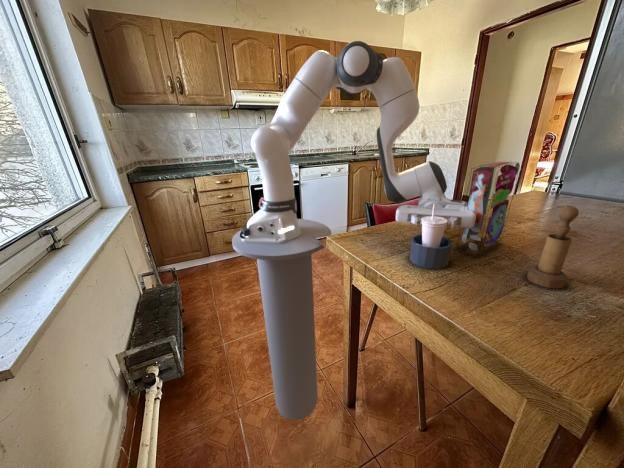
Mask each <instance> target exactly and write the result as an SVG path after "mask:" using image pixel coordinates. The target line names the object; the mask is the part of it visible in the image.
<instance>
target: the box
mask: <svg viewBox="0 0 624 468" xmlns="http://www.w3.org/2000/svg"><path fill="white" fill-rule="evenodd" d="M496 168H497V169H498V171H496V170H497V169H496ZM520 168H521V164H520V162H518V161H514V164H513V162H511V161H497V162H494V163H493V162H491V163H489V164H487V163H485V164H483V165H482V164H481V165H478V166H475V167H473V168H472V167H471V170H473V171H472V173H470V175H469V178H471V180H469V182H468V185H467V189H466V194H465V200H464V202H466V203H467V210H472V211H474V213H475V214H476V220H475V225H474V227H473V228H461V227H459V229H458V233H461V234H458V235H457V238H458V240H457V242H456V244H457V246H456V247H457V249H458V250H461V253H462V254H465V255H468V256H472V257H476V258H478V257H480V256H481V254H482V255H484V254H485V253H488V252H490V251H491V250H493V249H494V248H497V244H498V245H500V242H497V241H499V240H502V239H503V237H504V234H505V232H506V231H505V230H506V228H507V227H506V226H507V222H508V218H509V216H507V215H509V213H510V212H509V211H510V208H511V205H512V202H513V199H514V195H515V191H516V187H517V181H518V179H517V178H518V176H519V171H520ZM495 172H496V173H495ZM499 172H500V173H501V174H499ZM495 176H496V177H495ZM494 177H495V179H494ZM493 181H494V183H493ZM515 181H516V182H515ZM492 186H494V187H493V188H492ZM491 191H492V192H491ZM491 193H492V194H491ZM511 194H512V197H511V201H510V200H509V199H508V197H509V196H510V195H511ZM490 196H491V197H490ZM467 199H468V201H467ZM509 202H510V203H509ZM488 207H489V208H488ZM464 208H465V205H464ZM490 210H491V214H489V213H487V212H489V211H490ZM507 212H508V213H507ZM488 215H489V217H488ZM487 217H488V218H487ZM487 220H488V221H487ZM485 221H487V222H485ZM485 228H486V229H485ZM461 230H462V231H461ZM484 232H485V234H484ZM479 234H480V235H479ZM478 235H479V236H478ZM501 235H502V236H501ZM500 237H501V238H500ZM460 238H461V239H460ZM460 240H461V241H462V243H464V244H463V245H462V246H460V243H459V241H460ZM467 240H470V241H472V240H474V241H475V242H468V244H467ZM483 241H484V242H483ZM476 242H480V243H479V245H477V244H476ZM482 242H483V247H488V248H487V249H485V250H484V252H483V251H481V246H482ZM465 244H467V245H465ZM467 246H468V248H469V249H470V250H472V251H478V252H477V255H476V256H475V255H474V254H472V253H470V252H469V251H467V252H465V250H464V249H463V248H466V247H467ZM478 246H479V247H478ZM489 246H490V247H489ZM462 247H463V248H462ZM479 253H480V255H479Z"/></svg>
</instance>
